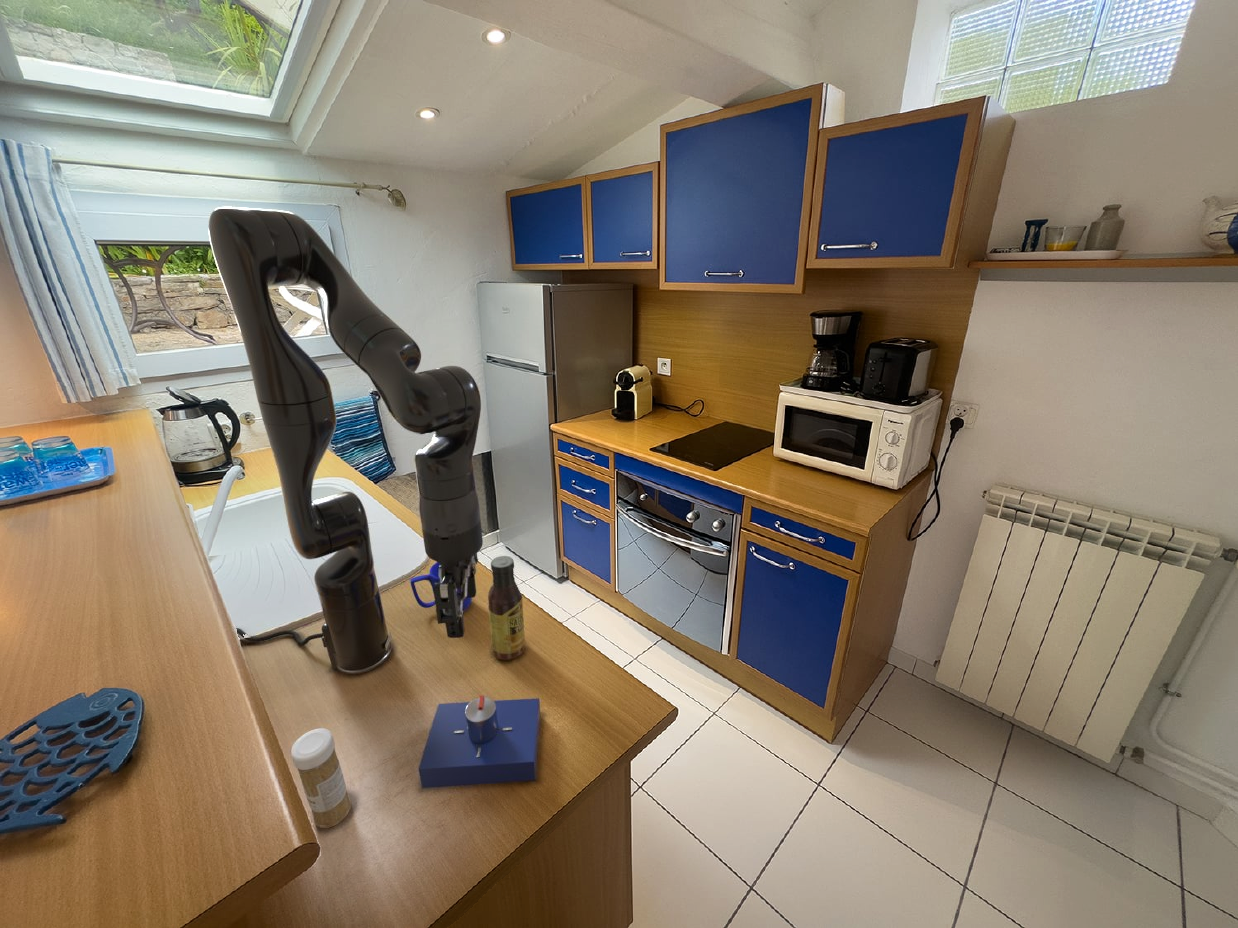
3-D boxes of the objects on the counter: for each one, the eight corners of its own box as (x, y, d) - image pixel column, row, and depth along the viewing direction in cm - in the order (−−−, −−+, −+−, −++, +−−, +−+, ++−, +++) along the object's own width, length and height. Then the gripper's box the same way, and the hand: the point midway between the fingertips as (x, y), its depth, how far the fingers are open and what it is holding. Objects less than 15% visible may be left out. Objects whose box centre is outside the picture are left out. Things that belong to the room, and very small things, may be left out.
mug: (415, 604, 107) (408, 565, 103) (472, 590, 112) (467, 553, 108) (417, 628, 100) (410, 587, 96) (478, 613, 105) (473, 573, 101)
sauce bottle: (518, 664, 92) (510, 575, 84) (486, 659, 93) (476, 570, 85) (530, 640, 98) (524, 554, 90) (501, 635, 99) (492, 550, 91)
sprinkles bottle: (308, 813, 67) (284, 744, 62) (343, 788, 70) (323, 720, 65) (322, 837, 64) (298, 766, 59) (358, 810, 67) (338, 740, 62)
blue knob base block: (422, 788, 70) (417, 768, 68) (441, 721, 80) (438, 702, 79) (535, 780, 71) (533, 760, 70) (540, 715, 81) (539, 697, 80)
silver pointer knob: (497, 741, 73) (494, 718, 71) (466, 745, 72) (462, 721, 70) (499, 716, 77) (496, 693, 75) (470, 719, 76) (467, 696, 74)
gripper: (436, 494, 72) (448, 585, 78) (404, 548, 59) (422, 652, 65) (488, 494, 72) (496, 584, 79) (468, 547, 59) (480, 650, 66)
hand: (462, 615), depth 72 cm, fingers open, 8 cm apart
